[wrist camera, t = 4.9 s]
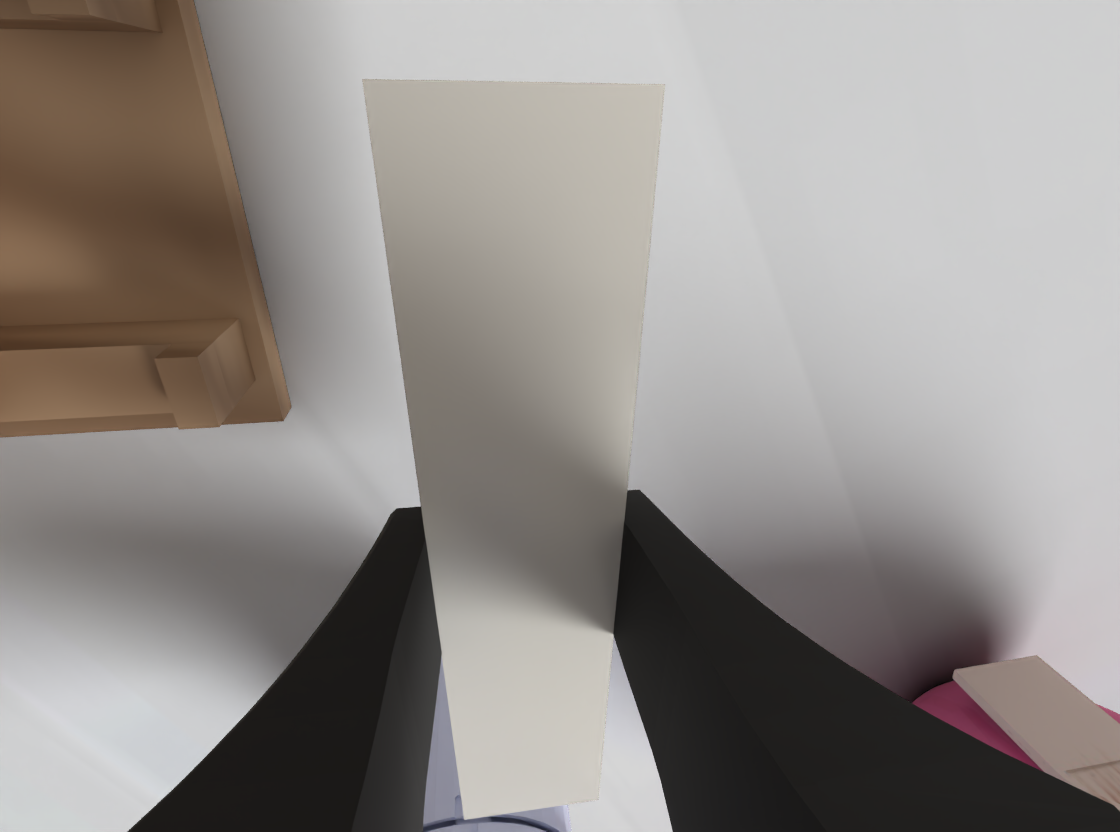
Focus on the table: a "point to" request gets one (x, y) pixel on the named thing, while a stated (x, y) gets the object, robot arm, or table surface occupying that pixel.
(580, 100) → the pale grey bar
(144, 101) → the slotted wooden stand
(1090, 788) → the pink dragon fruit
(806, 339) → the table surface
